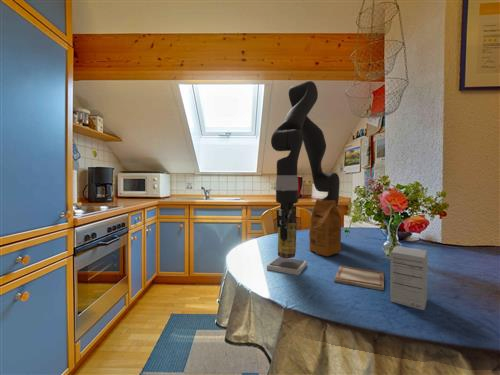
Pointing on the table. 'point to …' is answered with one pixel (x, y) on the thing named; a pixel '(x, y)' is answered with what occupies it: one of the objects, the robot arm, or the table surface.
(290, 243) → the sauce bottle
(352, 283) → the marked board
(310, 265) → the table surface
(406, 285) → the supplement box
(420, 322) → the table surface
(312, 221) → the coffee package
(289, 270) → the ink pad
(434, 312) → the table surface
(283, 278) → the table surface
